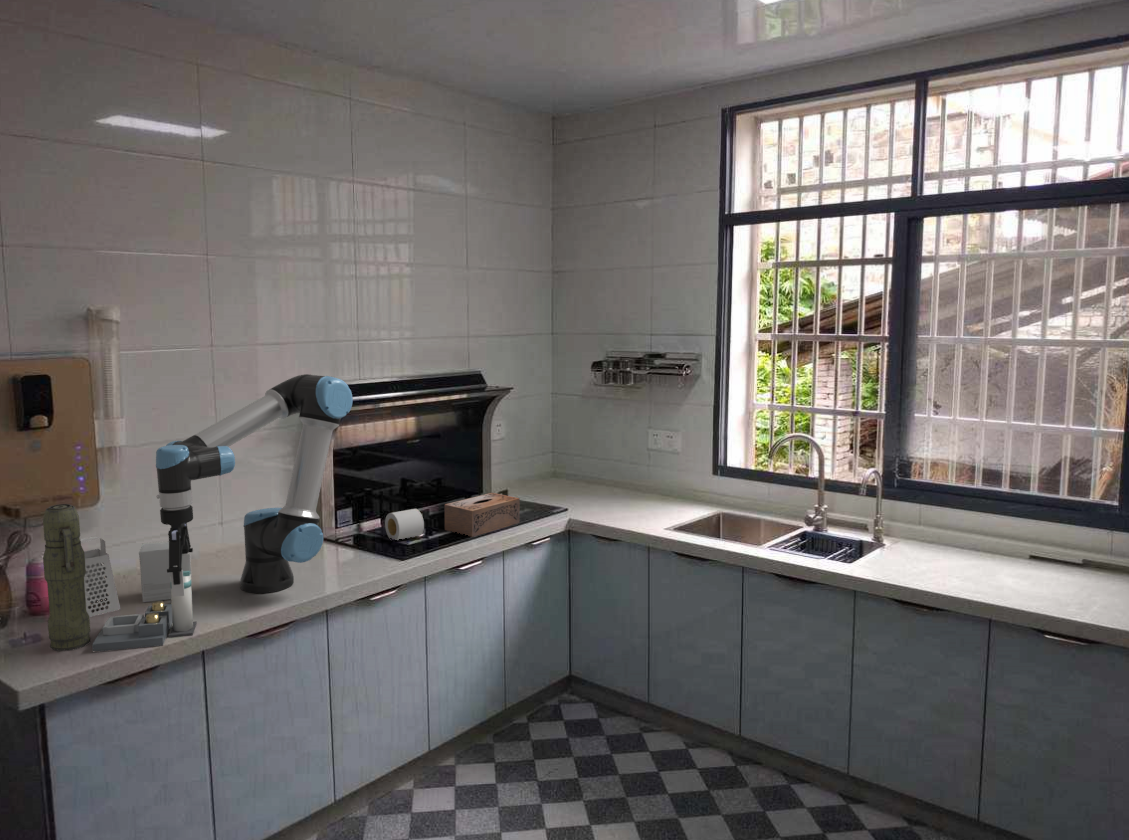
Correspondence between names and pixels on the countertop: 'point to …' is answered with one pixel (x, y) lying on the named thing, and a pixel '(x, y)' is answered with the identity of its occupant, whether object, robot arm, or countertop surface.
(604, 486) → the countertop surface
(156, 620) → the plunger
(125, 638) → the housing
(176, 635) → the mat
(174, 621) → the cartridge
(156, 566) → the supplement box
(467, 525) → the tissue box cover
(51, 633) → the thermos
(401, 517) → the toilet paper
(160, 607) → the plunger
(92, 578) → the grater
